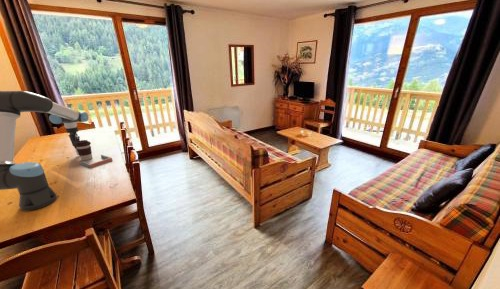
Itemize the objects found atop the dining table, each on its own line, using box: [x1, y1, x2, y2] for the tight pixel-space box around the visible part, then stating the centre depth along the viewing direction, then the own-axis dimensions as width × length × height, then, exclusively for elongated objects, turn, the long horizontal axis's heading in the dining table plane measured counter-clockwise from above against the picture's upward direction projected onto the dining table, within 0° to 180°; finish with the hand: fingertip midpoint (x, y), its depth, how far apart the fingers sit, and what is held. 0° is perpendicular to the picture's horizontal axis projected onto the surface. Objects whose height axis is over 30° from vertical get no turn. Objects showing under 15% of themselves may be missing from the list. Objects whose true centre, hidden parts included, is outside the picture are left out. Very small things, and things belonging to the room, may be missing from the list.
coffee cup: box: [74, 139, 93, 161], centre depth 167 cm, size 10×10×15 cm
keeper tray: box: [79, 154, 113, 169], centre depth 162 cm, size 16×14×2 cm
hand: (79, 154), depth 175 cm, fingers closed
